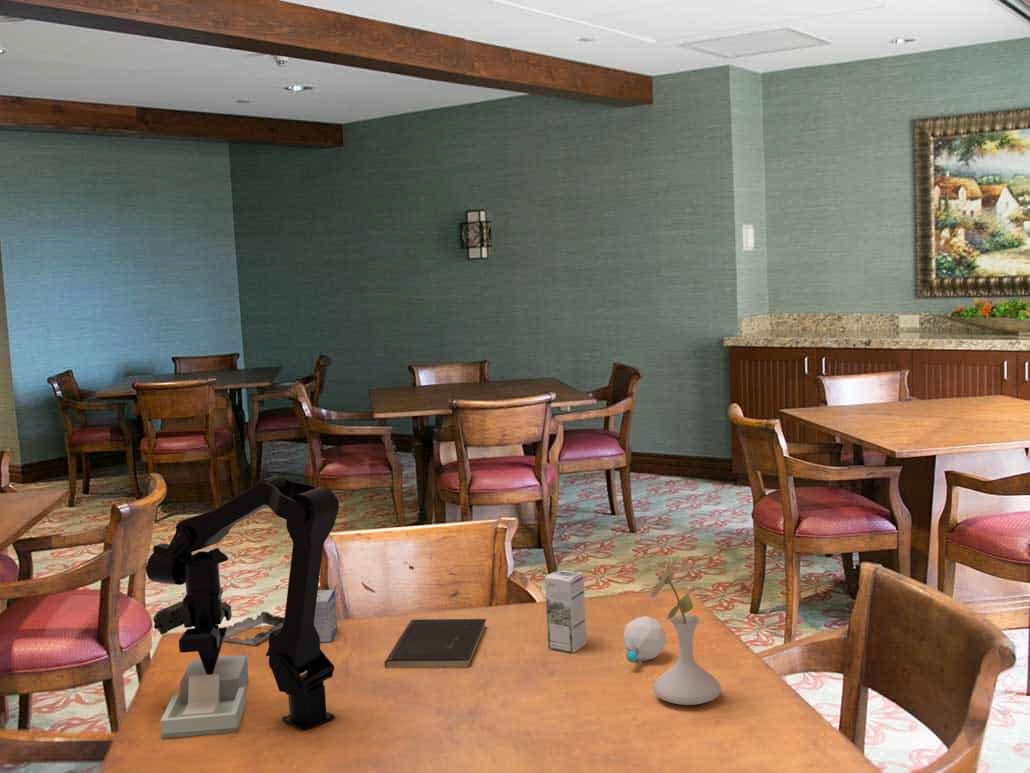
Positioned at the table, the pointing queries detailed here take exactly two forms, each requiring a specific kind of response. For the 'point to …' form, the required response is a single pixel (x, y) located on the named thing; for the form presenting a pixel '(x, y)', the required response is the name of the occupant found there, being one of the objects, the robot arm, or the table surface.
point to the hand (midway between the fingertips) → (210, 673)
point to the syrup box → (565, 611)
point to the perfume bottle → (643, 639)
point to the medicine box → (326, 615)
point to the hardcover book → (436, 643)
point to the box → (202, 718)
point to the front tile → (201, 708)
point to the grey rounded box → (229, 670)
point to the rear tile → (204, 688)
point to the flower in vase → (683, 656)
